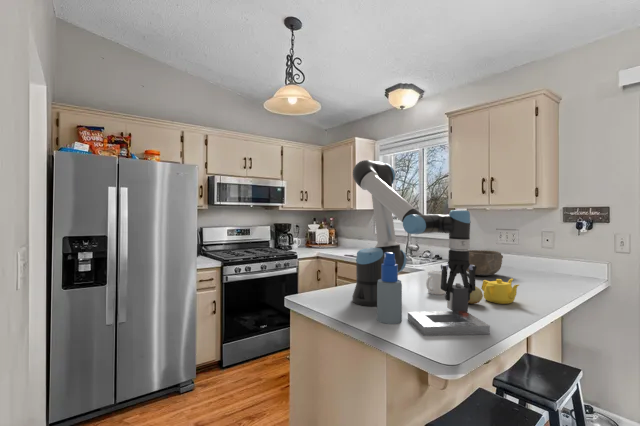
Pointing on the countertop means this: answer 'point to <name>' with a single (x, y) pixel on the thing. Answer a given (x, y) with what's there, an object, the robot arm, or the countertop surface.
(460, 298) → the plug
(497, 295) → the teapot
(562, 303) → the countertop surface
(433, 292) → the mug
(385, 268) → the spray bottle
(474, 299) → the fruit
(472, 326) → the socket plate
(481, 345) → the countertop surface
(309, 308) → the countertop surface
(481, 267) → the bowl
